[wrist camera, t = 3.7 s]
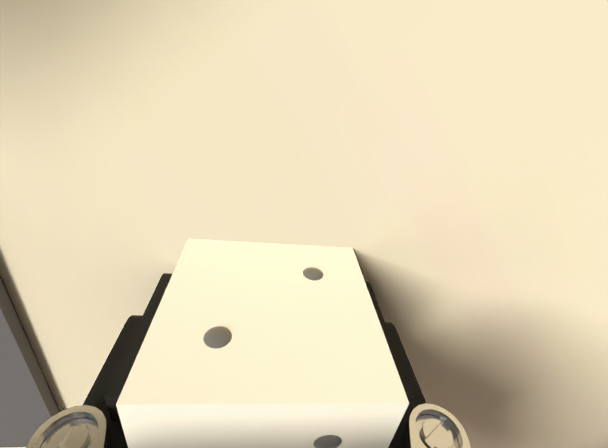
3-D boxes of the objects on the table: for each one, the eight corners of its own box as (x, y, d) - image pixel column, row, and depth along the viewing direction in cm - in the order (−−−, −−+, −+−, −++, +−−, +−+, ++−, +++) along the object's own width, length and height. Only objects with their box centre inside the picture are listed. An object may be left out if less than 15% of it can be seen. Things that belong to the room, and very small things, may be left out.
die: (352, 244, 10) (412, 405, 6) (327, 354, 13) (355, 524, 8) (187, 235, 9) (112, 407, 5) (196, 352, 12) (150, 535, 8)
